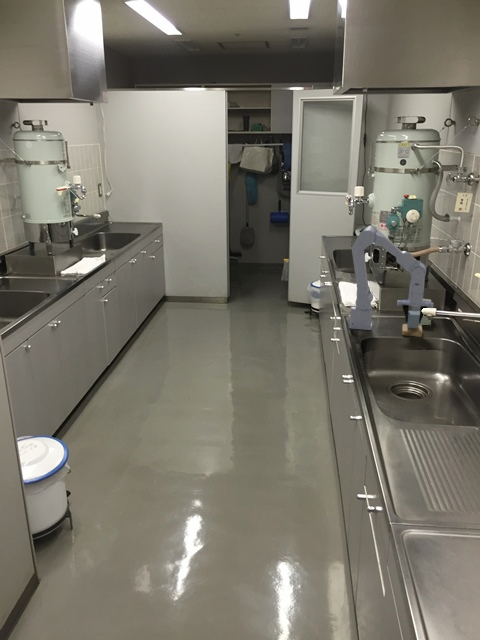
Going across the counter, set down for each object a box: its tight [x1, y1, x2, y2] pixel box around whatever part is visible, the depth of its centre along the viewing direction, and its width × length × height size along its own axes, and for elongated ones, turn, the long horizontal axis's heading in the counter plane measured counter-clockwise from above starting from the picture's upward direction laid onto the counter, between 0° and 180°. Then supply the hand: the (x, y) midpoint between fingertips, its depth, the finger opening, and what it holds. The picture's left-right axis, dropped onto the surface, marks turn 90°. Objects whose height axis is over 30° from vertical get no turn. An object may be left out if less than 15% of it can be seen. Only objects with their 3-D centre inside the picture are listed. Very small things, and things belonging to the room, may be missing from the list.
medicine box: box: [411, 298, 432, 311], centre depth 239 cm, size 8×4×9 cm, turn 65°
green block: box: [418, 311, 432, 325], centre depth 233 cm, size 5×6×5 cm
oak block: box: [401, 323, 423, 338], centre depth 224 cm, size 8×8×2 cm
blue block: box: [406, 310, 420, 328], centre depth 223 cm, size 4×4×6 cm
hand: (412, 322), depth 223 cm, fingers closed on blue block, 4 cm apart
